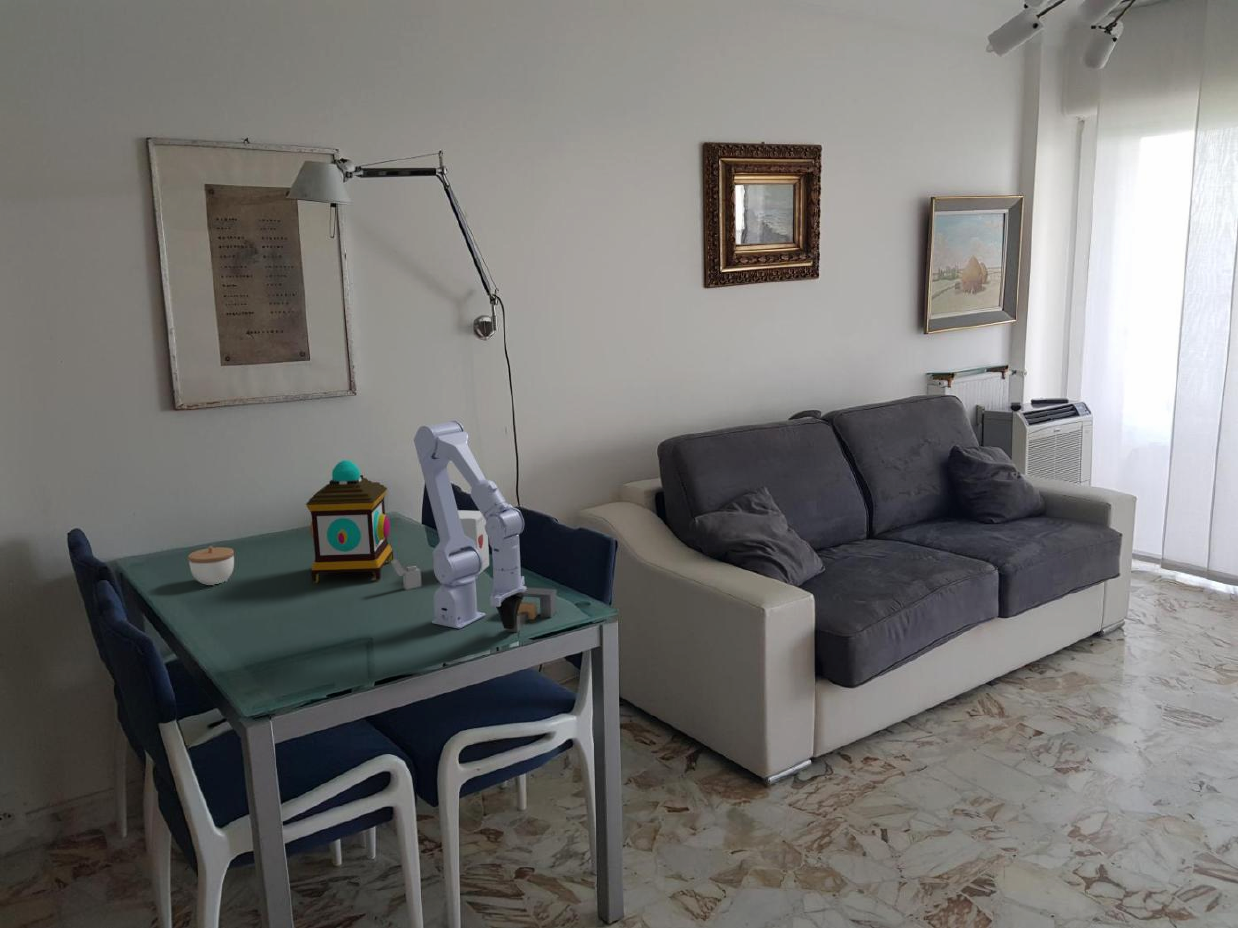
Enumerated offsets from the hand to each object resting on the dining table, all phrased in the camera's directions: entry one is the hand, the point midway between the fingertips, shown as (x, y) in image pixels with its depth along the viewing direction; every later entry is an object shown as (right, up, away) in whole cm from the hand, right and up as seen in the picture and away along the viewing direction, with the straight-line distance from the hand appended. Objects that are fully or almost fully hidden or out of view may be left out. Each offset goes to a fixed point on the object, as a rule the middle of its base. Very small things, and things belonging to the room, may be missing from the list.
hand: (509, 627), depth 203 cm
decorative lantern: (-46, +6, +47) cm, 66 cm away
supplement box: (-16, +7, +46) cm, 50 cm away
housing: (+3, +1, +13) cm, 13 cm away
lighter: (-29, +4, +32) cm, 44 cm away
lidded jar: (-80, +4, +41) cm, 90 cm away
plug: (+2, 0, +7) cm, 7 cm away
